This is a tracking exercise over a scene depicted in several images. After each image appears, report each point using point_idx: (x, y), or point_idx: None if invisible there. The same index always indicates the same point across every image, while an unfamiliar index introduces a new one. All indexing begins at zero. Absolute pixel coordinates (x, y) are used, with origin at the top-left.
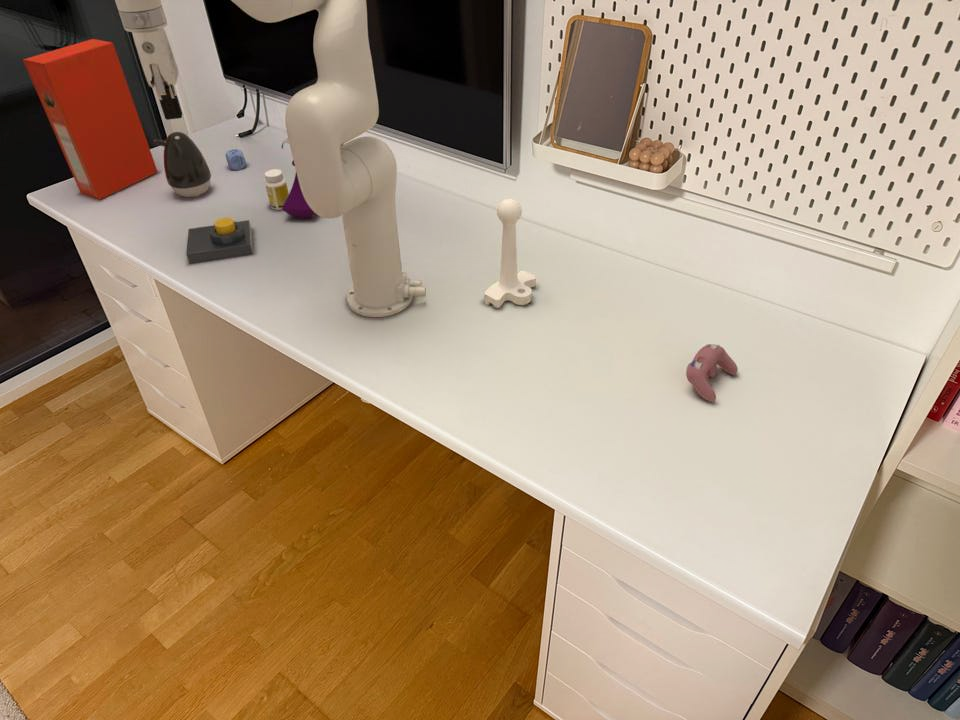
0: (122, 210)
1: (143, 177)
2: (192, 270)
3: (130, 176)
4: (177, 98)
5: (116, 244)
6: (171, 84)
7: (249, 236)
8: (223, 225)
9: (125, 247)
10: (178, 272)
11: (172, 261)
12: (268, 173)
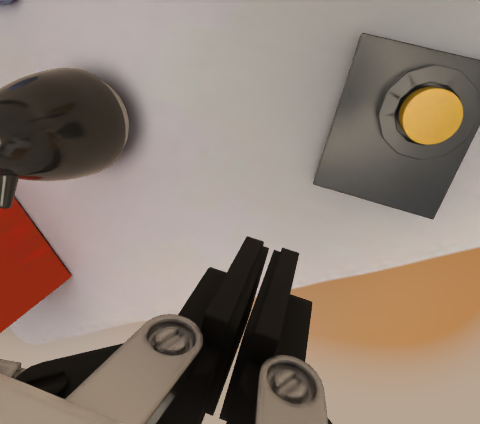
0: (125, 255)
1: None
2: (459, 211)
3: (14, 221)
4: (232, 305)
5: None
6: (153, 414)
7: (461, 56)
8: (452, 123)
9: None
10: (444, 237)
11: (388, 234)
12: None
